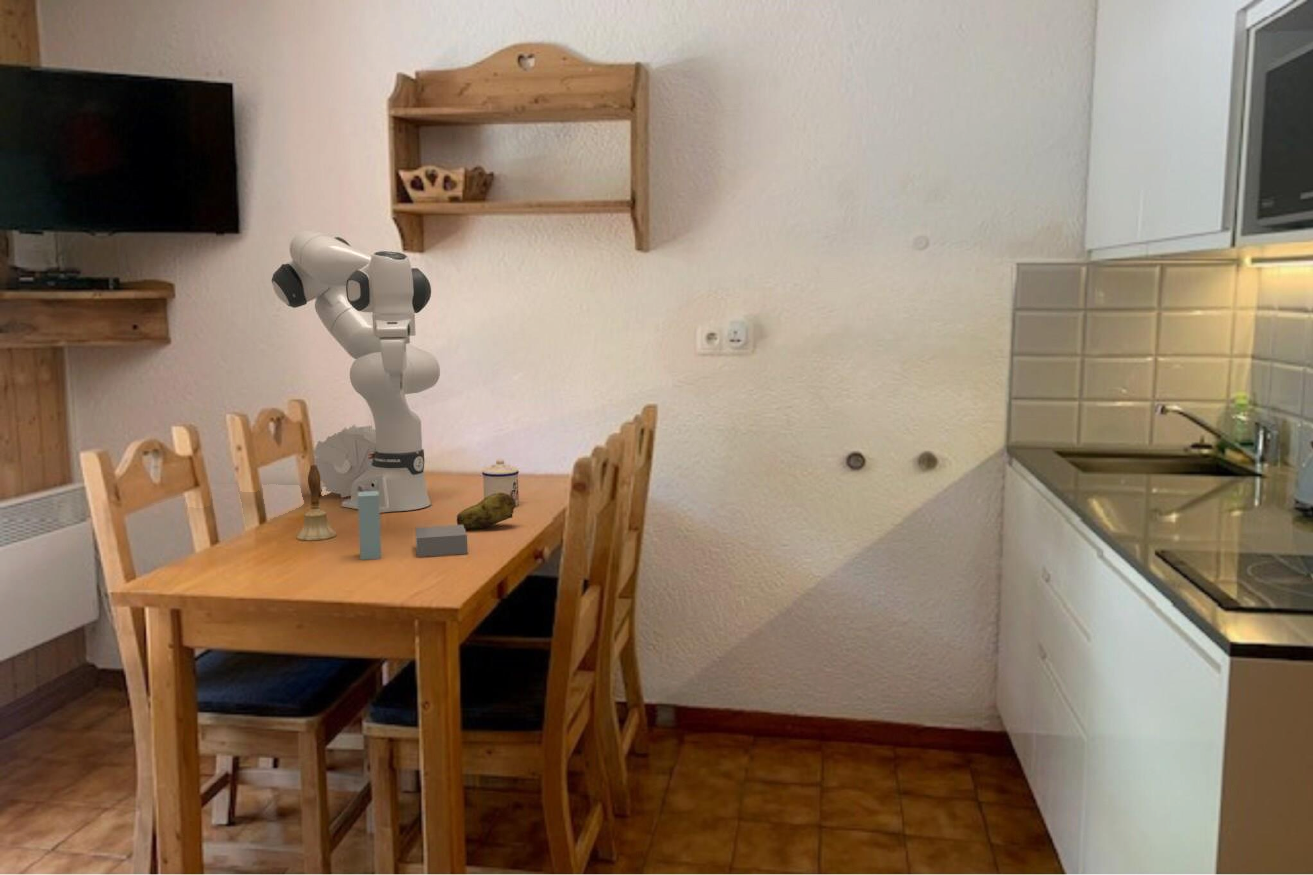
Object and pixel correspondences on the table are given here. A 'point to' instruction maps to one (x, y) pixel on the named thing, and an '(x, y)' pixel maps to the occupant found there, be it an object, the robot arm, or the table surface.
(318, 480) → the hand bell
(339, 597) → the table surface
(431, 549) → the slate slab
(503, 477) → the teacup with lid
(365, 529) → the teal block
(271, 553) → the table surface
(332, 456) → the spiral staircase
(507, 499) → the potato
